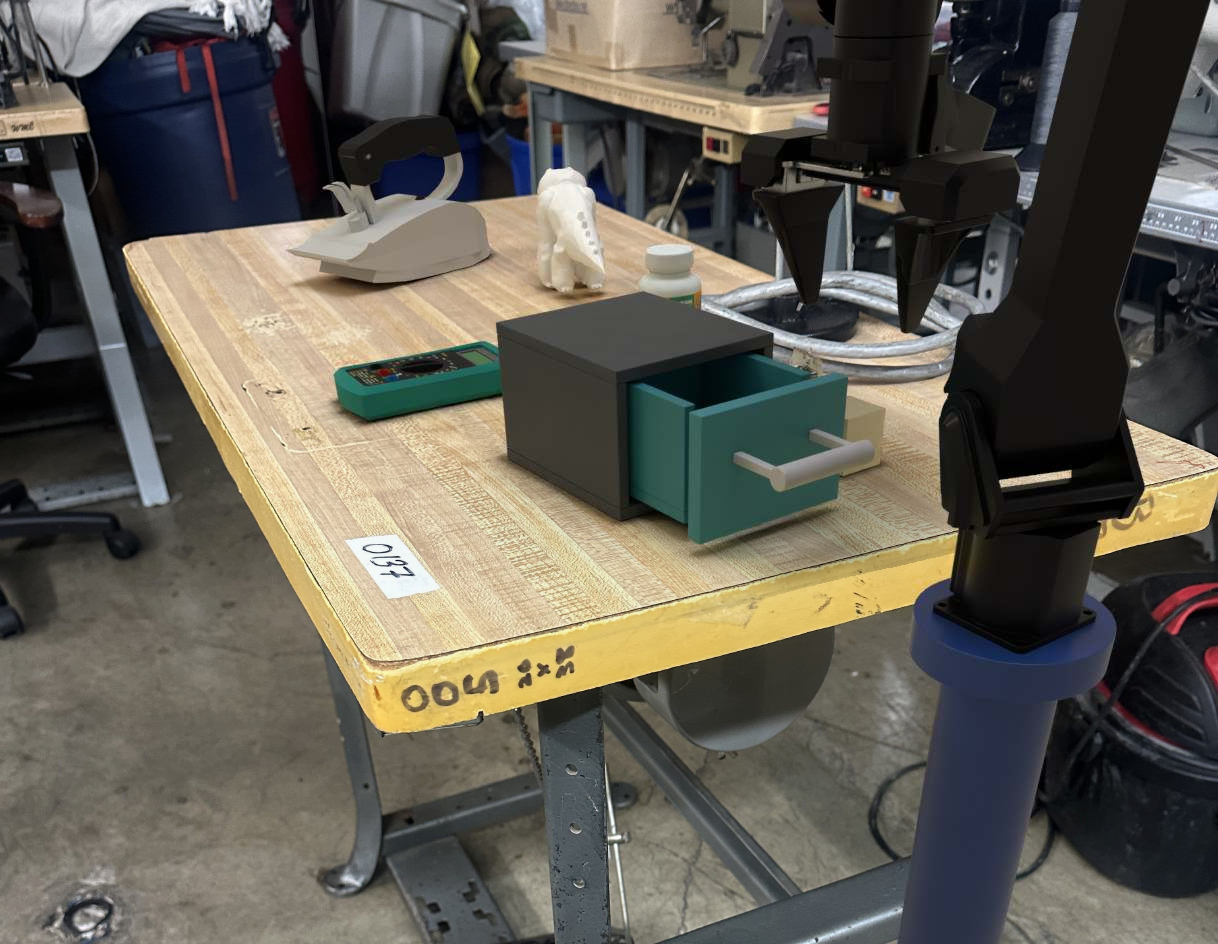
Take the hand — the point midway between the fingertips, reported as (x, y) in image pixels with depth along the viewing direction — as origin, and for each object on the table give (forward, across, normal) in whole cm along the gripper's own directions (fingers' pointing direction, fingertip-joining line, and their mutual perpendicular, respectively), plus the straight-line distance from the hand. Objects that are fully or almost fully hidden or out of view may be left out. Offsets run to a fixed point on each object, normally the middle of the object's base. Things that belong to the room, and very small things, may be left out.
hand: (857, 317), depth 77 cm
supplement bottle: (+10, +26, -4) cm, 28 cm away
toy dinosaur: (+10, +53, -12) cm, 55 cm away
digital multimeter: (+10, +33, +16) cm, 38 cm away
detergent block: (+10, 0, 0) cm, 10 cm away
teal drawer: (+9, -2, +12) cm, 15 cm away
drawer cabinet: (+10, +9, +12) cm, 18 cm away
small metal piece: (+10, +15, -9) cm, 20 cm away
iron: (+10, +76, -3) cm, 77 cm away
